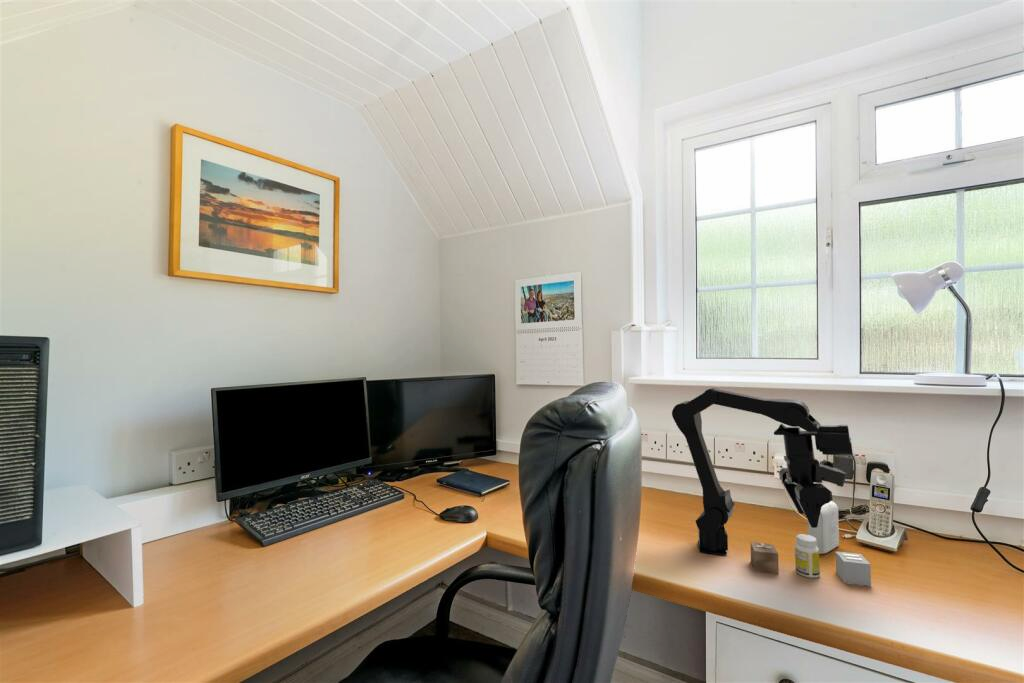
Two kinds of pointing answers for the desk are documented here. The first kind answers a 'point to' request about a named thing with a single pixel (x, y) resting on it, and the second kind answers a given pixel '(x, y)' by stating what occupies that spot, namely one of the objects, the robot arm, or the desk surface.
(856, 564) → the grey block
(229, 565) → the desk surface
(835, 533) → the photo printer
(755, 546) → the walnut block
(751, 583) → the desk surface
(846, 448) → the robot arm
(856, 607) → the desk surface
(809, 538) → the supplement bottle
